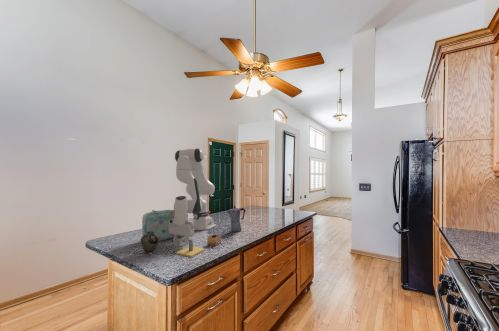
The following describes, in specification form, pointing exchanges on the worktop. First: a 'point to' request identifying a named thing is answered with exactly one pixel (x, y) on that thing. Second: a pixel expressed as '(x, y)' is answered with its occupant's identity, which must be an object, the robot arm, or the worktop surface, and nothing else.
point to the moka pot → (235, 218)
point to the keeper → (190, 250)
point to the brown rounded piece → (214, 240)
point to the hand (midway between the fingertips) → (181, 241)
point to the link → (180, 241)
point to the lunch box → (158, 223)
